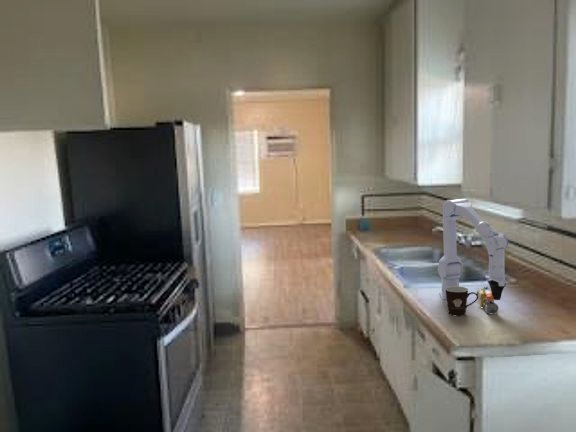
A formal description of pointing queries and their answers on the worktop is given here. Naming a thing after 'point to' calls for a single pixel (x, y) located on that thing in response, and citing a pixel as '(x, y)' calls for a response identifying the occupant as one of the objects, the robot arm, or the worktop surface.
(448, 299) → the coffee mug
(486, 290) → the valve lever
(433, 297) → the worktop surface
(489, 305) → the pipe valve
